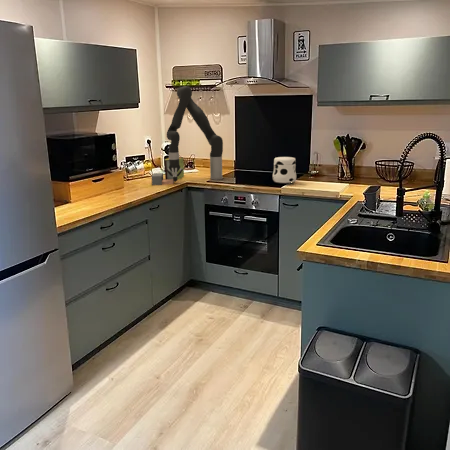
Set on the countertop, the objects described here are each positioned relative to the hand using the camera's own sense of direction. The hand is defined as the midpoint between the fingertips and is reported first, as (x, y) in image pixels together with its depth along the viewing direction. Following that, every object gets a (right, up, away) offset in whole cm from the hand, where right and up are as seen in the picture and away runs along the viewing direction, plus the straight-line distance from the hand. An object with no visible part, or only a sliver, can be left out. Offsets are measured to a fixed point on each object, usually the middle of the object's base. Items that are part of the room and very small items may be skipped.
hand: (175, 181), depth 337 cm
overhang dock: (-13, -1, 0) cm, 13 cm away
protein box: (-3, +5, +20) cm, 20 cm away
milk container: (+81, -2, -5) cm, 81 cm away
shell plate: (-8, -2, +1) cm, 8 cm away
